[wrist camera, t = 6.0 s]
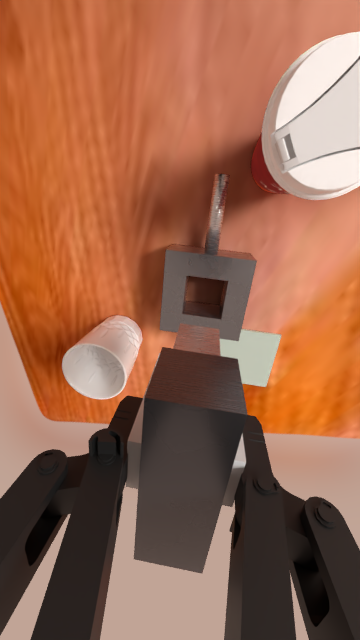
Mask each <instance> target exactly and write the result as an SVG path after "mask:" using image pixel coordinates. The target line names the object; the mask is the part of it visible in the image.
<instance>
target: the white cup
mask: <svg viewBox="0 0 360 640" xmlns="http://www.w3.org/2000/svg"><path fill="white" fill-rule="evenodd" d="M142 340H143V339H142V332H141V329H140V328H139V326H138V325H137V323H136V322H134V321H133V320H131V319H130V318H128V317H126V316H120V315H115V316H111V317H108V318H107V319H106V320H105V321H103V322H102V323H101V324H99V325H98V326H96V327H95V328H94V329H92V330H91V331H90V332H89V333H87V334H86V335H85V336H84V337H83V338H82V339H81V340H79V341H78V342H77V343H76V344H75V345H74V346H72V347H71V348H70V349H69V350H68V351H67V352H66V353H65V355H64V357H63V360H62V370H63V374H64V376H65V378H66V380H67V382H68V383H69V384H70V385H71V386H72V387H73V388H74V389H75V390H76V391H78V392H79V393H81V394H82V395H84V396H87V397H90V398H94V399H109V398H112V397H114V396H116V395H118V394H119V393H120V392H121V391H122V390H123V388H124V387H125V384H126V382H127V380H128V377H129V375H130V372H131V370H132V368H133V366H134V363H135V360H136V358H137V355H138V350H139V348H140V345H141V343H142Z"/></svg>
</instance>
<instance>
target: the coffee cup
mask: <svg viewBox="0 0 360 640" xmlns="http://www.w3.org/2000/svg"><path fill="white" fill-rule="evenodd" d="M251 172H252V176H253V179H254V181H255V182H256V184H257V185H258V186H259V187H260V188H261V189H263V190H265V191H267V192H270V193H278V194H292V195H294V196H296V197H300V198H303V199H309V200H325V199H330V198H334V197H338V196H340V195H343V194H346V193H348V192H350V191H352V190H353V189H355V188H357V187H358V186H360V32H353V33H347V34H344V35H338V36H335V37H332V38H329V39H326V40H324V41H322V42H320V43H318V44H316V45H314V46H313V47H311V48H310V49H309V50H307V51H306V52H305V53H303V54H302V55H301V56H300V57H299V58H298V59H297V60H296V61H295V62H294V63H293V64H292V65H291V66H290V67H289V68H288V69H287V71H286V72H285V73H284V74H283V76H282V77H281V79H280V80H279V82H278V84H277V85H276V87H275V89H274V91H273V93H272V95H271V97H270V100H269V102H268V105H267V108H266V111H265V114H264V120H263V125H262V132H261V135H260V137H259V139H258V142H257V144H256V147H255V149H254V152H253V156H252V160H251Z"/></svg>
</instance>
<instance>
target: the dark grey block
mask: <svg viewBox="0 0 360 640" xmlns="http://www.w3.org/2000/svg"><path fill="white" fill-rule="evenodd" d="M246 418H247V410H246V404H245V398H244V392H243V386H242V381H241V375H240V369H239V363H238V359H236V358H230V357H223V356H221V354H220V337H219V329H216V328H209V327H202V326H195V325H188V324H182V323H180V326H179V330H178V333H177V337H176V340H175V344H174V347H173V349H171V348H165V347H162V350H161V353H160V356H159V358H158V361H157V364H156V367H155V369H154V372H153V375H152V378H151V381H150V383H149V386H148V389H147V392H146V394H145V397H144V410H143V426H142V441H141V457H140V472H139V488H138V504H137V519H136V534H135V551H134V559H136V560H141V561H146V562H150V563H155V564H159V565H164V566H169V567H174V568H179V569H183V570H188V571H193V572H198V573H202V572H203V569H204V565H205V561H206V558H207V555H208V551H209V548H210V544H211V540H212V537H213V533H214V530H215V527H216V523H217V520H218V516H219V513H220V509H221V506H222V502H223V499H224V495H225V492H226V488H227V485H228V481H229V478H230V474H231V471H232V467H233V464H234V460H235V457H236V453H237V450H238V446H239V443H240V439H241V436H242V432H243V429H244V425H245V422H246Z"/></svg>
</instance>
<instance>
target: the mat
mask: <svg viewBox="0 0 360 640" xmlns="http://www.w3.org/2000/svg"><path fill="white" fill-rule="evenodd" d="M280 339H281V334H274V333H267V332H260V331H253V330H246V329H241V333H240V338H239V341H233V340H226V339H220V354H221V356H223V357H230V358H236V359H238V363H239V369H240V375H241V381H242V383H244V384H250V385H256V386H263V387H266V385H267V382H268V378H269V375H270V372H271V368H272V365H273V362H274V358H275V355H276V352H277V349H278V345H279V342H280Z"/></svg>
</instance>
